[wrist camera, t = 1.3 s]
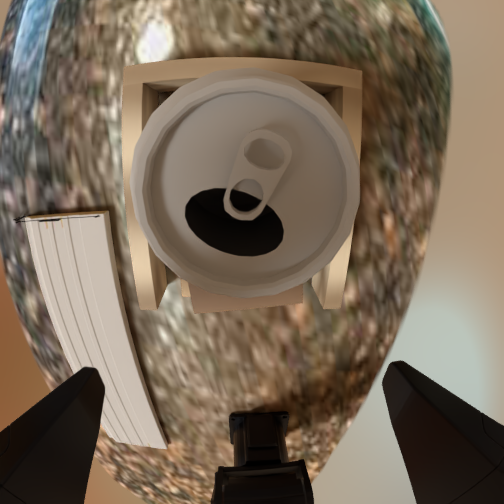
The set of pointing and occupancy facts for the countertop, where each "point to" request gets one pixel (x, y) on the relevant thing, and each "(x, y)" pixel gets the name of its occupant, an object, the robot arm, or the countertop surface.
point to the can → (245, 182)
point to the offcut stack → (237, 299)
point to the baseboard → (93, 317)
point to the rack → (187, 70)
